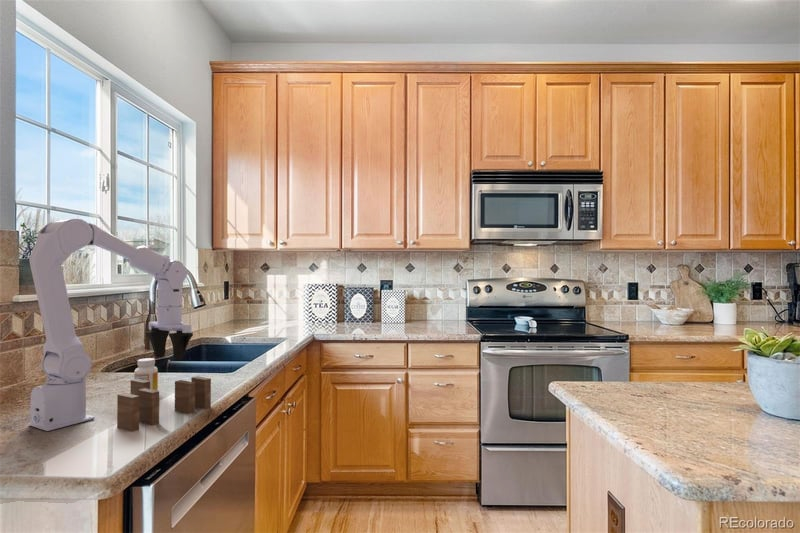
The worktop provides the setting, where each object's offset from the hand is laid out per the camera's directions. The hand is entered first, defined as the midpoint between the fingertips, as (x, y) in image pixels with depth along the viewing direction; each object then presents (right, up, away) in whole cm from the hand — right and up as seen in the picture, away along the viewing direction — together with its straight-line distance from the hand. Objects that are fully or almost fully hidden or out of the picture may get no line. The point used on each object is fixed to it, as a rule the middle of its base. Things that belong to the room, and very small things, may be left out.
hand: (169, 358), depth 124 cm
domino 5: (+12, -10, -8) cm, 18 cm away
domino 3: (+5, -10, -20) cm, 23 cm away
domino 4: (+10, -10, -12) cm, 19 cm away
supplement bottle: (-6, -10, +1) cm, 12 cm away
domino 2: (-1, -10, -11) cm, 15 cm away
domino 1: (+3, -10, -24) cm, 26 cm away
